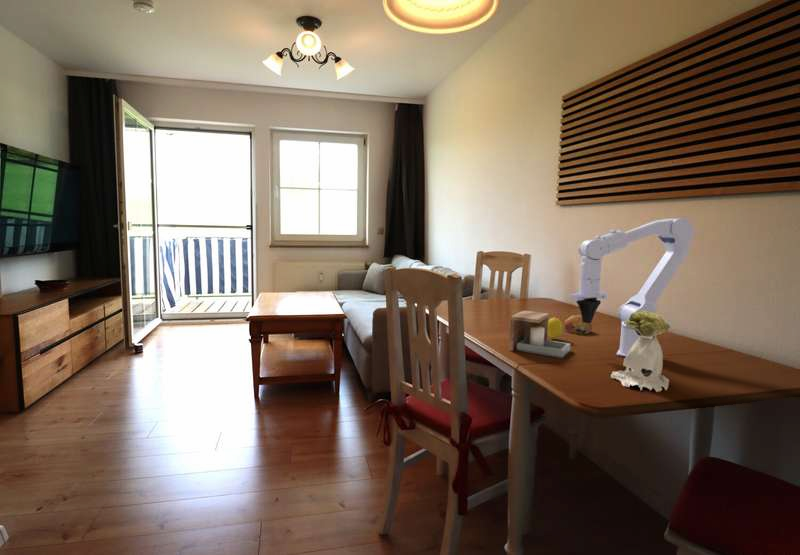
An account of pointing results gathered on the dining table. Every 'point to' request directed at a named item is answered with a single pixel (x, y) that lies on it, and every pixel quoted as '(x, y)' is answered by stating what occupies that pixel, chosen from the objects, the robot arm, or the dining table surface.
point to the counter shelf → (526, 326)
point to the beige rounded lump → (537, 335)
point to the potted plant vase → (644, 353)
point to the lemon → (555, 328)
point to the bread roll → (577, 325)
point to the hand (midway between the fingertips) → (586, 322)
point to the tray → (544, 348)
